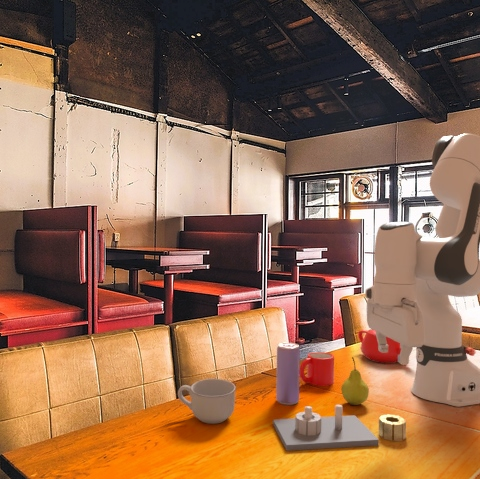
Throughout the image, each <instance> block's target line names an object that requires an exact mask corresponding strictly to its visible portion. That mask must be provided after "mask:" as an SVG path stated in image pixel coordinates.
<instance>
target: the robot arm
mask: <svg viewBox="0 0 480 479" xmlns="http://www.w3.org/2000/svg"><path fill="white" fill-rule="evenodd" d="M431 164H432V167H434V168H433V171H432V173H431V175H430V179H429V187H430V190H431V192H432V194H433V196H434V198H435V199H437V200H438V202H440V203H441V204H443V206H442V208H441V211H440V214H439V216H438V220H437V222H436V224H435V227H434V228H435V229H434V230H435V233H436V236H437V237H426V236H424V237H423V235H421V234H420V233H418V232H417V231H416V229H415V225H414V223H412V222H409V221H394V222H386V223H383V224H382V225H380V226H379V227H378V229H377V232H376V237H375V244H374V255H373V256H374V265H375V275H374V278H373V285H372V286H370V287H368V288H366V289H365V298H366V299H367V301H366V323H367V326H368V328H369V329H370V330H372V329H373V330H375V331H376V337H377V341H378V350H379V351H380V352H382V353H387V352H388V345H387V341H386V337H388V338H390V339H392V340H394V341H396V342H398V343H400V348H401V352H400V355H398V362H397V363H399V364H401V365H406V366H407V365H409V363H410V355H411V354H412V351H413V348H416V349H415V350H416V353H415V356H416V357H415V358H416V368H415V369H416V370H415V376H414V379H413V384H412V387H411V388H410V390H411V393H412V394H413V395H415V396H416V397H418V398H421V399H423V400H426V401H430V402H435V403H441V404H445V405H450V406H453V407H466V406H472V405H479V404H480V368H479V367H478V366H477V365H476V364H475V363H473V362H472V361H471V360H469V359H468V355H469V356H470V357H471V356H472V357H473V356H475V354H476V352H477V351H476V350H475V348H473V347H470V346H467V347H466V346H465V345H463V344H462V340H463V339H462V338H463V337H462V334H463V318H462V316H461V314H460V312H458V311H457V309H455V307H454V306H453V304H452V303H451V301H450V298H449V296H451V297H456V298H457V297H458V298H464V297H465V298H466V297H474V296H477V295H480V135H478V134H475V133H463V134H460V135H457V136H456V135H447V136H445V135H444V136H442V137H441V138H439V139H438V140H437V141H436V142H435V145H434V147H433V149H432V153H431Z"/></svg>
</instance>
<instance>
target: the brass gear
mask: <svg viewBox="0 0 480 479" xmlns="http://www.w3.org/2000/svg"><path fill="white" fill-rule="evenodd" d="M406 433H407V420H406V419H405V418H403V417H401V416H399V415H395V414H382V415H381V416H380V417H378V435H379V437H381V439H384V440H386V441H391V442H403V441H404V440H405V439H406V437H407V436H406Z"/></svg>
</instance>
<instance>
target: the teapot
mask: <svg viewBox="0 0 480 479" xmlns="http://www.w3.org/2000/svg"><path fill="white" fill-rule="evenodd" d="M363 334H365V335H364V336H363ZM357 335H358V339H359V341H360V343H361V345H360V351H361V353H362V354H363V355H364V357H366V358H367V359H369V360H370V361H372V362H377V363H380V364H381V363H382V364H393V363H399V362H398V355H400V352H401V348H400V343H398V342H396V341H394V340H392V339H390V338H388V337H386V341H387V345H388V352H387V353H382V352H380V351H379V350H378V341H377V337H376V331H375V330H373V329H368V330H363V329H362V330H359V331H358V333H357Z"/></svg>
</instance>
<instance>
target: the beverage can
mask: <svg viewBox="0 0 480 479" xmlns="http://www.w3.org/2000/svg"><path fill="white" fill-rule="evenodd" d="M300 352H301V351H300V346H299V344H298V343H294V342H281V343H280V342H279V343H278V344H277V347H276V383H275V384H276V388H275V389H276V392H275V393H276V394H275V395H276V396H275V397H276V398H275V399H276V401H277V402H278V403H279V404H281V405H285V406H293V405H296V404H298V402H299V400H300V375H299V370H300Z"/></svg>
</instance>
